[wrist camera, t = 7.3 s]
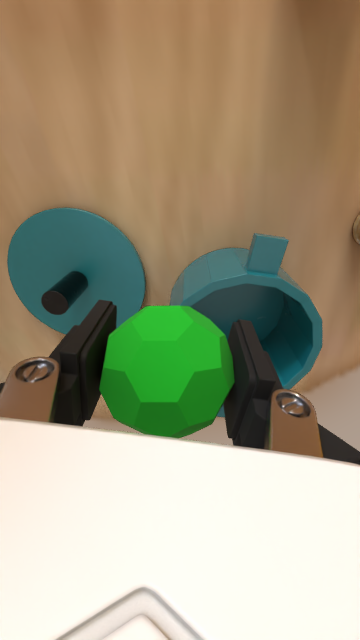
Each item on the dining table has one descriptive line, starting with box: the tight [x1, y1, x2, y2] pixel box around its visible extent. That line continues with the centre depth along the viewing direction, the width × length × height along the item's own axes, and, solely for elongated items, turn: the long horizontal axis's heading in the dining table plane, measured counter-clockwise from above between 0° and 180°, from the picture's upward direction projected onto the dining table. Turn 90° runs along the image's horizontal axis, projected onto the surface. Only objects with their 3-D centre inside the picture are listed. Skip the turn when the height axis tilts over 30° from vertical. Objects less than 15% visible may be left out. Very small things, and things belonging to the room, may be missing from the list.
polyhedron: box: [99, 306, 234, 438], centre depth 10 cm, size 5×5×5 cm
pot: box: [170, 233, 322, 417], centre depth 27 cm, size 14×19×8 cm
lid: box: [7, 208, 146, 334], centre depth 26 cm, size 15×15×7 cm
